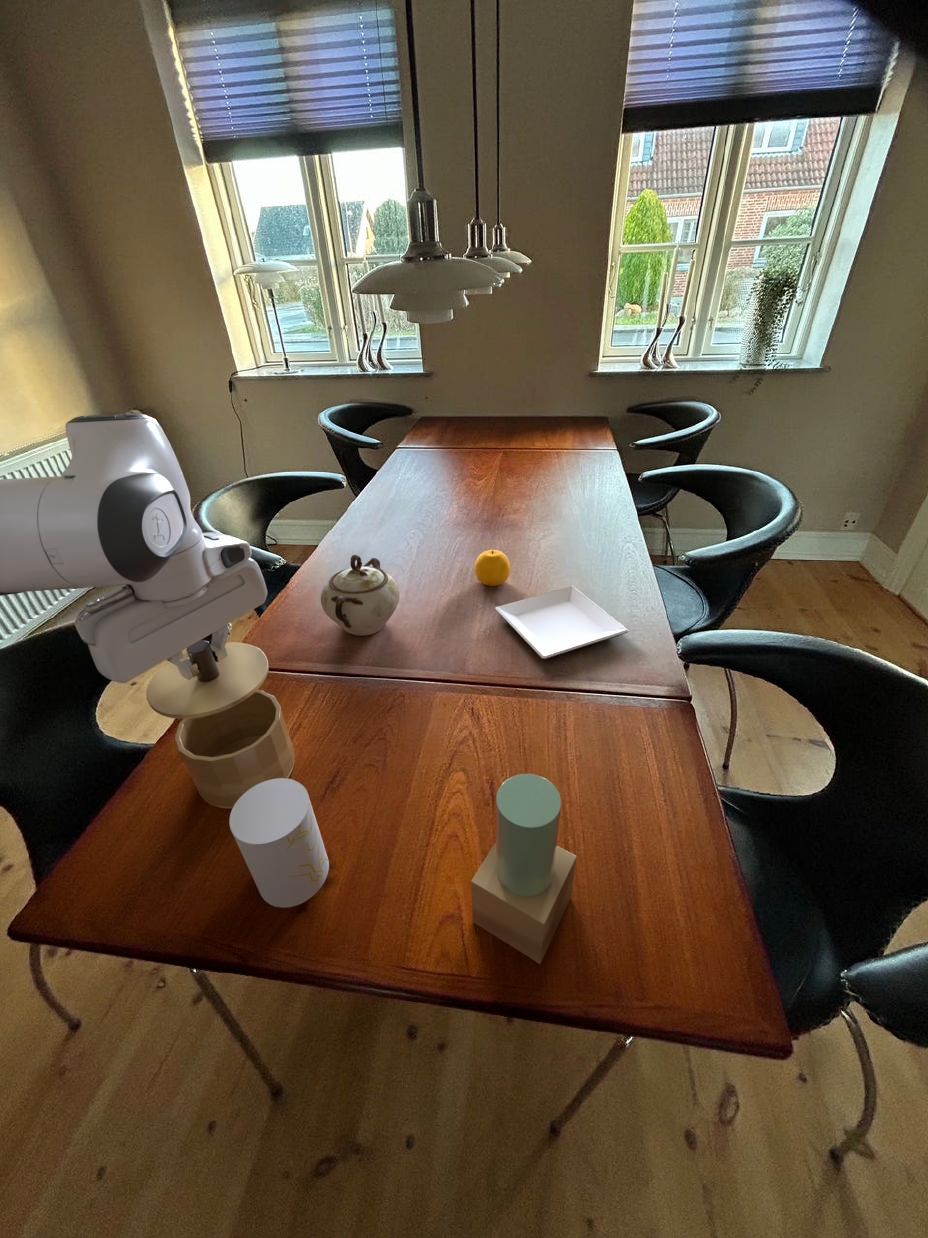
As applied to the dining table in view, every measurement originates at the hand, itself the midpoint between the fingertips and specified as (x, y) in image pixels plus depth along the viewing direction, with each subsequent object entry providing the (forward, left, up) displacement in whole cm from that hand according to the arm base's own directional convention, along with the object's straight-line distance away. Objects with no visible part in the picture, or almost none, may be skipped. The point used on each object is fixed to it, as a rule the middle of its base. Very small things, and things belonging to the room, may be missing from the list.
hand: (205, 666), depth 65 cm
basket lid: (0, 0, -2) cm, 2 cm away
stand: (+3, -43, -19) cm, 47 cm away
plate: (+55, -24, -19) cm, 63 cm away
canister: (+3, -43, -11) cm, 44 cm away
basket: (0, 0, -19) cm, 19 cm away
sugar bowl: (+37, +10, -19) cm, 43 cm away
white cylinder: (-7, -18, -19) cm, 27 cm away
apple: (+64, -4, -19) cm, 67 cm away
